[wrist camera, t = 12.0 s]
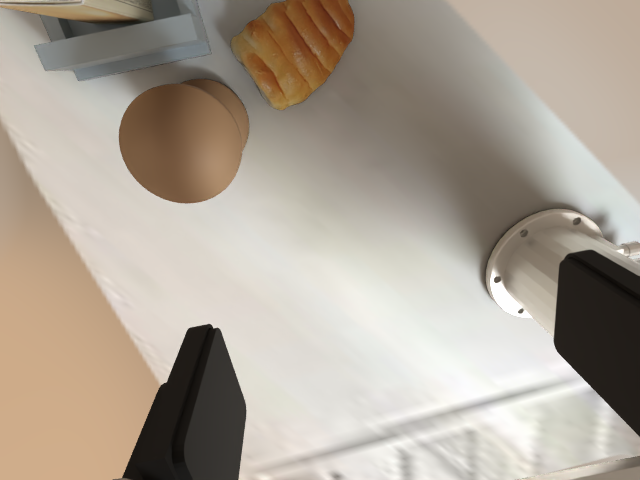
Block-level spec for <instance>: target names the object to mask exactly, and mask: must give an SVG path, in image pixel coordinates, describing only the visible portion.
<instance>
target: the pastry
mask: <svg viewBox="0 0 640 480" xmlns="http://www.w3.org/2000/svg"><path fill="white" fill-rule="evenodd" d="M353 33H354V14H353V12H352V9H351V7H350V5H349V3H348V0H286V1H284V2H280V3H273V4H271V5H270V6H269V7H268V8H267V10H266V11H265V13H263V14H262V15H261V16H259V17H258V18H257V19H256V20H253V21H251V22H249V23H248V24H247V25H246V26H245V28H244V30H243V31H242V32H241V33H240V34H239V35H237V36H234V37H233V38H232V41H231V49H232V52H233V53H234V55H235V57H236V58H237V60H238V61H239V62H240V63H241V64H242V65H243V67H244V68H245V70H246V71H247V72H248V73H249V74H250V76H251V77H252V78H253V80H254V82H255V83H256V84H257V86H258V87H259V90H260V93H261V95H262V97H263V98H264V99H265V100H266V102H267V103H268V104H269V105H270V106H271V107H273V108H275V109H278V110H284V109H285V108H287V107H289V106H291V105H295V104H298V103H301V102H303V101H304V100H306V99H307V98H308V96H309V95H310V94H311V93H312V92H313V91H315V90H316V89H317V88H318V87H319V86H320V85H322V84H323V83H324V82H325V81H326V79H327V77H328V76H329V75H330V74H331V73H332V71H333V70H334V68H335V66H336V64H337V63H338V62H339V60H340V58H341V56H342V54H343V52H344V50H345V49H346V48H347V46H348V44H349V43H350V42H351V41H352V38H353Z"/></svg>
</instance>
